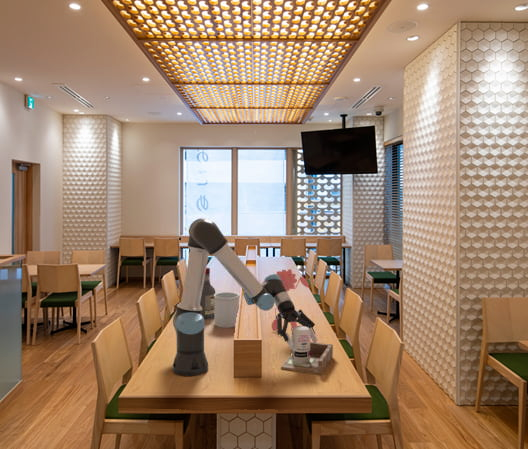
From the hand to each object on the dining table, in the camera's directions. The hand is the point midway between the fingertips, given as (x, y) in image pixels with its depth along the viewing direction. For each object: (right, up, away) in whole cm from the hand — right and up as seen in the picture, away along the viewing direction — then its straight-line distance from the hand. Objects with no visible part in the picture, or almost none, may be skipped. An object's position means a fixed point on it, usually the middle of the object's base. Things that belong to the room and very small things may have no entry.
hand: (304, 344), depth 200 cm
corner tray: (+2, -9, +3) cm, 10 cm away
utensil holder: (-39, -5, +62) cm, 74 cm away
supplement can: (-1, -8, +2) cm, 9 cm away
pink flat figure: (-6, -6, +48) cm, 49 cm away
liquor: (-53, -4, +78) cm, 94 cm away
